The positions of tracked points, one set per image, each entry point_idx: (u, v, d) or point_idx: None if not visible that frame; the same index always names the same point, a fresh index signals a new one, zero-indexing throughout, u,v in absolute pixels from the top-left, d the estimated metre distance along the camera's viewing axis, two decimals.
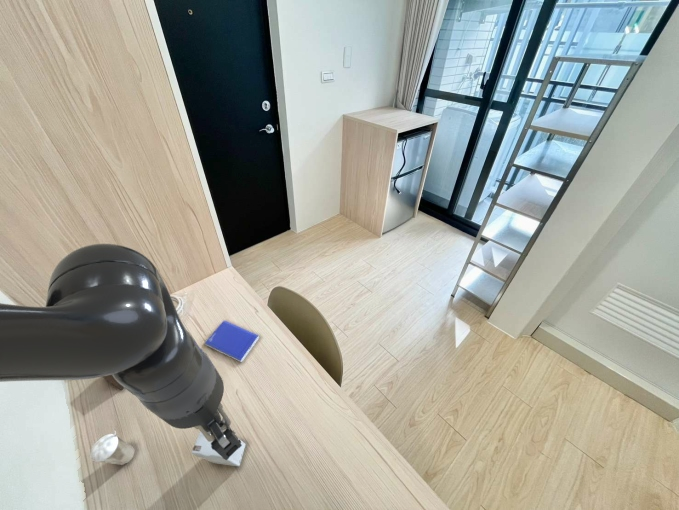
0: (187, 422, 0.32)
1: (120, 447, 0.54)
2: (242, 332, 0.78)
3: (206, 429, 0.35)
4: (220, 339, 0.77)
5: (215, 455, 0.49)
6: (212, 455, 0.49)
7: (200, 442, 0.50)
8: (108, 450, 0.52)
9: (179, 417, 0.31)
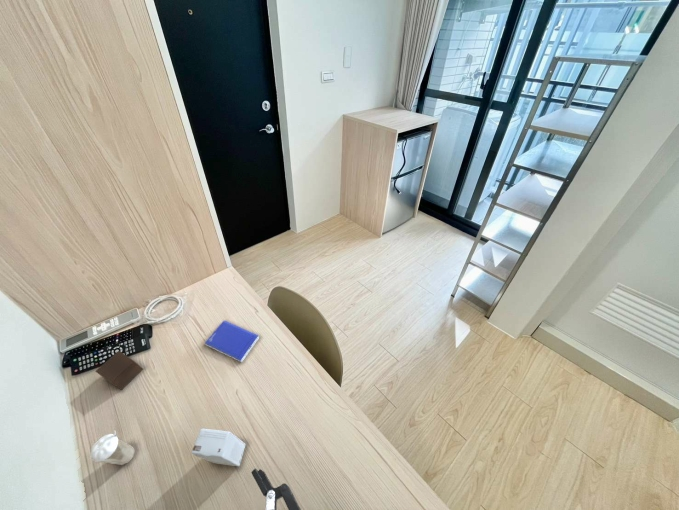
0: None
1: (120, 447, 0.54)
2: (242, 332, 0.78)
3: None
4: (220, 339, 0.77)
5: (215, 455, 0.49)
6: (212, 455, 0.49)
7: (200, 442, 0.50)
8: (108, 450, 0.52)
9: None
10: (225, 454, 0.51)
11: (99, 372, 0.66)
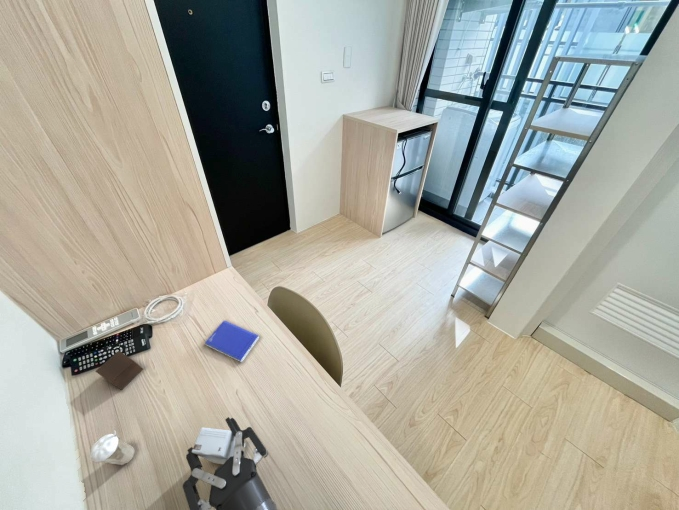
0: None
1: (120, 447, 0.54)
2: (242, 332, 0.78)
3: (211, 505, 0.45)
4: (220, 339, 0.77)
5: (215, 454, 0.49)
6: (212, 454, 0.49)
7: (200, 441, 0.50)
8: (108, 450, 0.52)
9: None
10: (226, 453, 0.51)
11: (99, 372, 0.66)
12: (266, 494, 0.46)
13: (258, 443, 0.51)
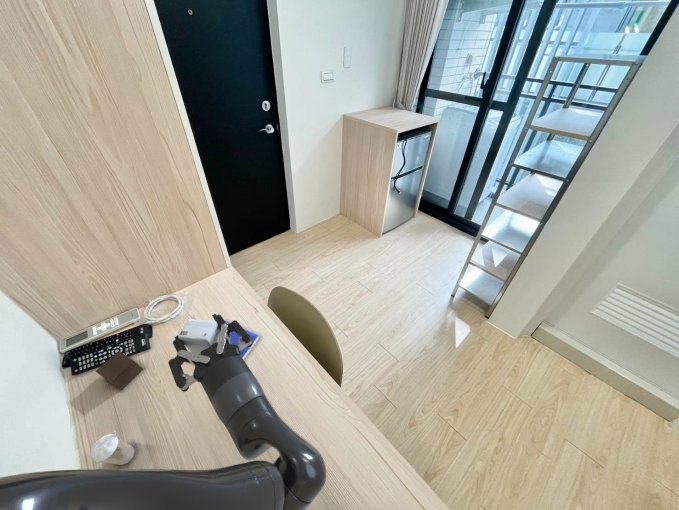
0: (206, 390, 0.44)
1: (120, 447, 0.54)
2: None
3: (195, 377, 0.47)
4: None
5: (201, 338, 0.51)
6: (198, 338, 0.51)
7: (187, 328, 0.52)
8: (108, 450, 0.52)
9: (212, 399, 0.43)
10: (211, 341, 0.52)
11: (99, 372, 0.66)
12: (248, 369, 0.47)
13: (243, 332, 0.53)
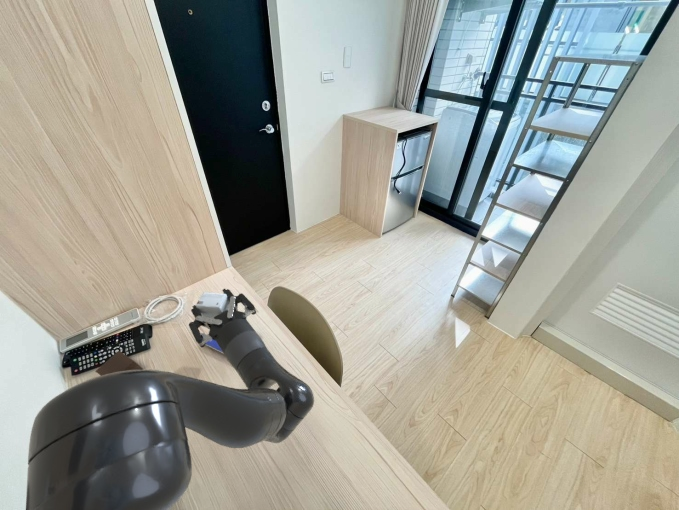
0: (220, 344, 0.56)
1: None
2: None
3: (211, 335, 0.58)
4: None
5: (214, 306, 0.62)
6: (212, 306, 0.62)
7: (202, 299, 0.64)
8: None
9: (225, 349, 0.55)
10: (222, 309, 0.64)
11: (99, 372, 0.66)
12: (253, 329, 0.59)
13: (248, 302, 0.64)
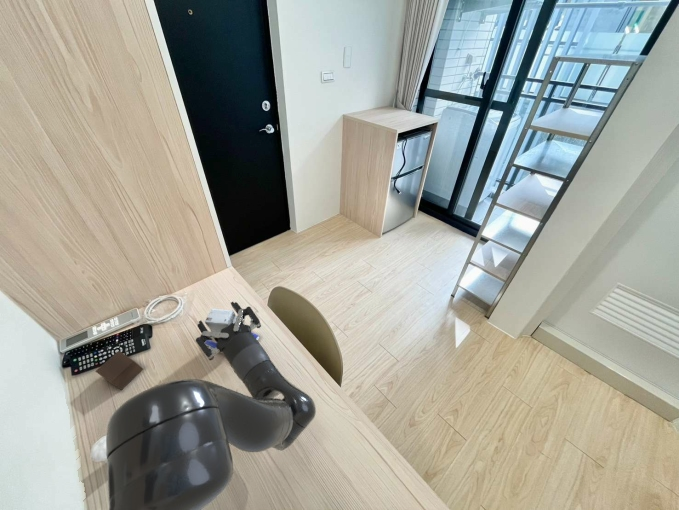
0: (227, 356, 0.60)
1: None
2: None
3: (218, 348, 0.62)
4: None
5: (222, 323, 0.67)
6: (220, 323, 0.67)
7: (211, 316, 0.68)
8: None
9: (232, 362, 0.59)
10: None
11: (99, 372, 0.66)
12: (258, 342, 0.63)
13: (254, 316, 0.68)
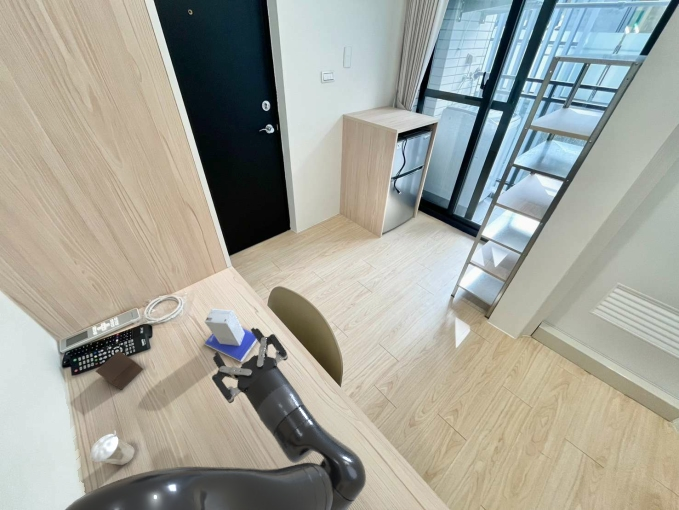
0: (252, 400, 0.49)
1: (120, 447, 0.54)
2: None
3: (240, 388, 0.51)
4: None
5: (222, 323, 0.67)
6: (220, 323, 0.67)
7: (211, 316, 0.68)
8: (108, 450, 0.52)
9: (258, 408, 0.48)
10: (230, 325, 0.68)
11: (99, 372, 0.66)
12: (287, 381, 0.52)
13: (280, 346, 0.57)
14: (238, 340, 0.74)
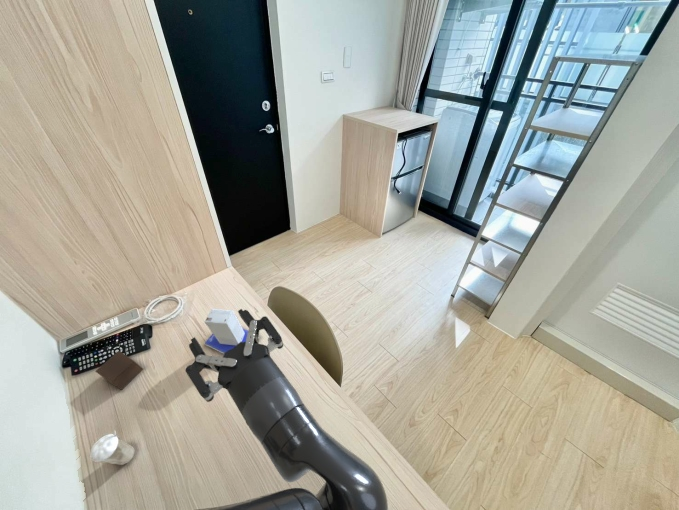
0: (235, 399, 0.38)
1: (120, 447, 0.54)
2: None
3: (221, 383, 0.40)
4: None
5: (222, 323, 0.67)
6: (220, 323, 0.67)
7: (211, 316, 0.68)
8: (108, 450, 0.52)
9: (243, 409, 0.37)
10: (230, 325, 0.68)
11: (99, 372, 0.66)
12: (282, 373, 0.41)
13: (274, 331, 0.46)
14: (238, 340, 0.74)
